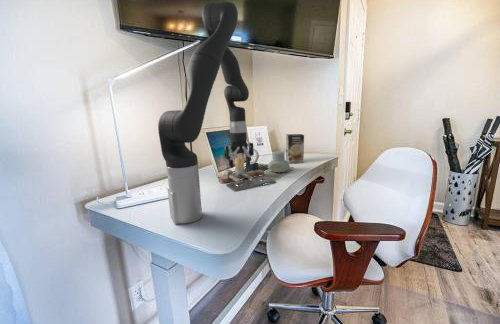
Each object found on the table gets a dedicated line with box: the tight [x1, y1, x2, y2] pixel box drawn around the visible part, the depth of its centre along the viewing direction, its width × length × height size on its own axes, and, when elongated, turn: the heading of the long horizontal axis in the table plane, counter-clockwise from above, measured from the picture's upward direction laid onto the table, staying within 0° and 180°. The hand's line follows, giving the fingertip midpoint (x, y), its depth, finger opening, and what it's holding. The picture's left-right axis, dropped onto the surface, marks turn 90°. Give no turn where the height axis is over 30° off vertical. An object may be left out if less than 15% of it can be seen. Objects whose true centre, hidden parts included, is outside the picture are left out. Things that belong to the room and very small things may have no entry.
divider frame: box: [218, 168, 265, 184], centre depth 117 cm, size 22×13×5 cm, turn 119°
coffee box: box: [285, 133, 305, 165], centre depth 147 cm, size 9×6×16 cm
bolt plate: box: [225, 175, 276, 192], centre depth 112 cm, size 20×8×1 cm, turn 119°
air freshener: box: [267, 150, 291, 173], centre depth 130 cm, size 11×8×10 cm
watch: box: [243, 148, 260, 171], centre depth 136 cm, size 6×8×11 cm
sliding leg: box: [234, 156, 253, 181], centre depth 116 cm, size 3×13×8 cm, turn 29°
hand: (239, 166), depth 119 cm, fingers open, 8 cm apart
